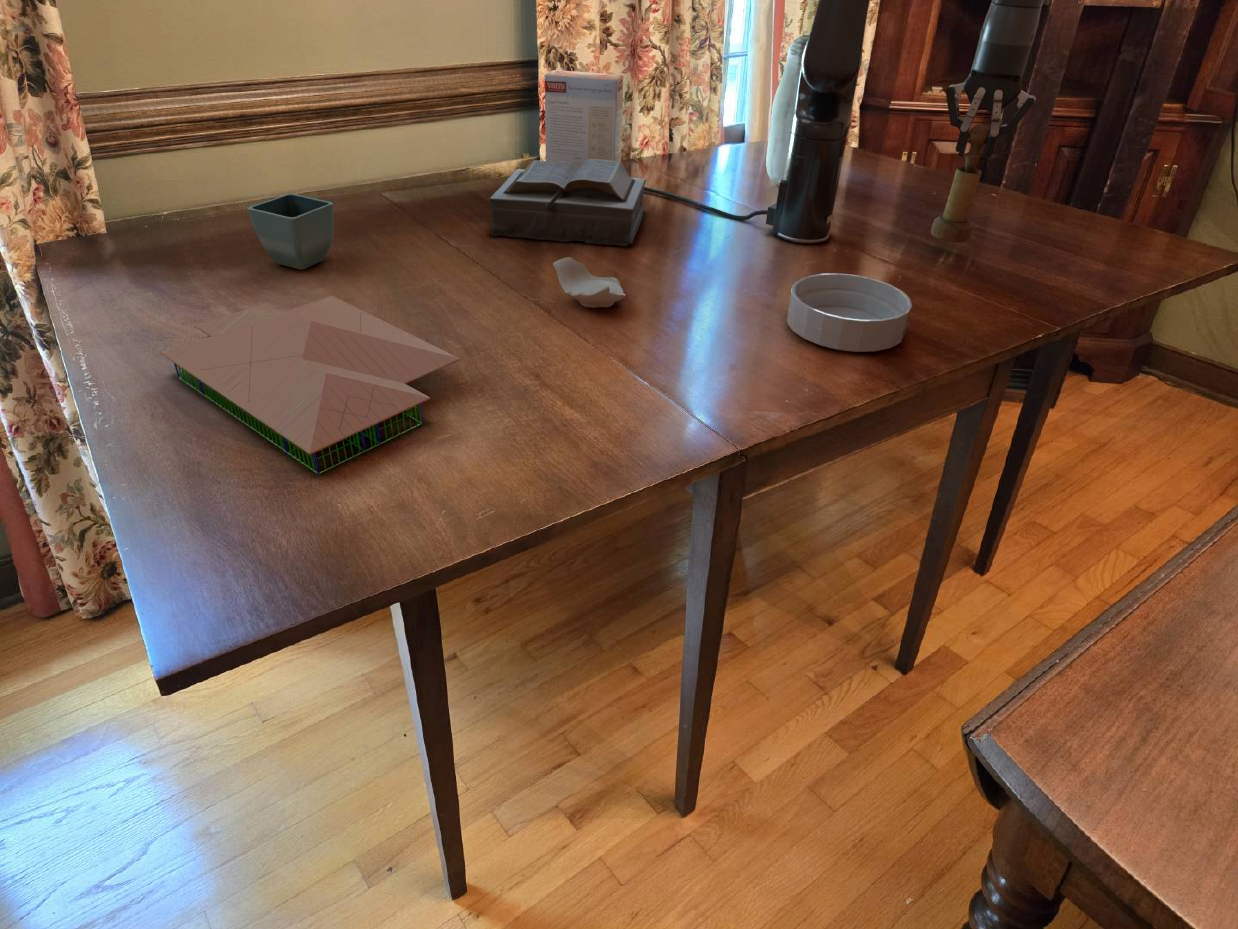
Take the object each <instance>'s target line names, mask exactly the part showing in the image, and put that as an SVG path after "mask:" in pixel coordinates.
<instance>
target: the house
mask: <svg viewBox="0 0 1238 929" xmlns="http://www.w3.org/2000/svg"><path fill="white" fill-rule="evenodd" d="M193 328H195V329H197V330H199V331H200V332H201V333H203V334H205V335H207V336H206V337H201V338H199V339H197V340H194V341H191V342H187V343H185V344H181V345H179V346H176V347H172V348H169V349H167V350H163V351H161V352H160V355H162V356H163V357H165V358H166V359H167V360H169V361H170V362H172V363H173V365H174V368H175V371H176V375H177V378H178V379H179V380H181V381H183V382H184V383H186V384H187V385H189V386H190V387H191V388H193V389H194V390H196V391H197V392H199V393H200V394H201V395H202V396H204V397H205V398H207V399H208V400H210V401H211V402H213V403H214V404H216V405H217V406H219V407H220V408H222V409H223V410H225V411H226V412H227V413H229V414H230V415H231V416H233V417H234V418H236V419H238V420H239V421H240V422H242V423H243V424H245V425H246V426H247V427H249V428H250V429H252V430H253V431H255V432H256V433H258V434H259V435H261V436H262V437H264V438H265V439H266V440H267V441H269V442H271V443H272V444H273V445H274V446H276V447H278V448H279V449H281V450H282V451H283V452H285V453H287V454H288V455H289V456H291V457H292V458H294V459H295V460H297V461H298V462H300V463H301V464H303V465H304V466H305V467H307V468H308V469H310V470H311V471H313V472H314V473H315V474H317V475H319V474H322V473H324V472H326V471H328V470H330V469H332V468H335V467H336V466H338V465H340V464H342V463H344V462H346V461H348V460H351V459H353V458H355V457H357V456H359V455H360V454H361V455H362V454H363V453H365V452H367V451H369V450H372V449H374V448H376V447H378V446H380V445H381V444H384V443H387V442H388V441H390V440H391V439H394V438H396V437H398V436H400V435H402V434H405V433H406V432H408V431H410V430H412V429H415V428H417V427H419V426H420V425H422V424H423V423H424V422H423V415H422V406H421V404H423V403H426V402H427V401H429V400H431V397H430V396H429V395H426V394H424V393H423V392H421V391H419V390H417V389H416V388H414V387H411V386H410V385H408V384H409V383H412V382H414V381H415V380H418V379H421V378H422V377H425V376H427V375H430V374H432V373H434V372H436V371H438V370H441V369H444V368H446V367H448V366H450V365H452V364H455V363H457V362H459V361H461V358H459V357H457V356H455V354H451V353H450V352H447V351H445V350H444V349H442V348H439V347H437V346H435V345H434V344H431V343H429V342H427V341H425V340H424V339H422V338H419V337H418V336H415V335H414V334H411V333H409V332H407V331H405V330H403V329H402V328H399V327H397V326H394V325H393V324H391V323H388V322H387V321H384V320H383V319H380V318H378V317H376V316H374V315H372V314H370V313H369V312H366V311H364V310H362V309H360V308H358V307H356V306H354V305H352V304H350V303H349V302H346V301H344V300H342V299H340V298H338V297H336V296H334V295H329V296H326V297H323V298H320V299H317V300H314V301H311V302H308V303H305V304H302V305H299V306H296V307H292V308H290V309H287V310H284V311H283V310H281V309H280V308H278V307H276V306H274V305H272V304H270V303H268V302H264V303H261V304H258V305H255V306H251V307H249V308H246V309H243V310H239V311H236V312H233V313H230V314H226V315H223V316H220V317H216V318H214V319H211V320H209V321H205V322H202V323H198V324H195V325H194V327H193ZM218 399H219V400H218ZM417 406H418V407H417ZM233 408H234V409H233ZM412 408H414V412H413V409H412ZM230 409H231V410H230ZM240 411H241V412H240ZM244 413H245V414H244ZM417 413H419V420H418V414H417ZM399 414H401V415H402V418H400V419H398V415H399ZM405 415H406V416H405ZM413 415H414V416H415V418H414V417H413ZM238 416H239V417H238ZM394 416H395V418H396V420H394V421H392V418H393V417H394ZM248 417H249V418H248ZM406 418H408V419H409V426H410V428H408V429H406V425H405V419H406ZM252 419H253V420H252ZM388 419H389V421H390V422H389V424H387V425H386V423H385V421H386V420H388ZM411 420H414V421H415V424H416V425H414V426H412V421H411ZM400 421H402V422H403V430H404V431H402V432H400V427H399V422H400ZM382 422H383V426H382V427H381V428H380V427H379V424H380V423H382ZM395 423H396V426H397V434H396V435H394V431H393V424H395ZM250 424H251V425H250ZM257 426H258V427H257ZM387 427H390V431H391V437H389V438H388V435H387ZM371 428H372V429H371ZM268 429H269V430H268ZM367 429H368V430H367ZM382 429H384V435H385V440H383V441H381V434H380V430H382ZM364 430H365V433H364ZM262 431H263V432H262ZM265 431H266V432H265ZM269 432H270V433H269ZM273 433H274V435H273ZM359 433H360V434H359ZM266 434H267V435H266ZM270 436H271V437H270ZM277 436H278V438H277ZM366 437H367V438H369V440H370V447H368V448H367V447H366V440H365V438H366ZM274 438H275V440H274ZM352 438H353V441H352ZM278 440H279V442H278ZM345 440H346V441H347V442H348V443H346V444H345V442H344V441H345ZM360 440H361V442H362V443H361V442H360ZM341 441H342V444H343V445H342V446H341V447H338V443H339V442H341ZM373 442H374V445H373ZM287 443H288V444H287ZM356 443H357V444H356ZM279 444H280V445H279ZM334 444H335V448H336V449H334V450H332V451H331V446H333V445H334ZM361 444H362V447H361ZM291 445H292V446H291ZM349 445H350V450H351V455H352V456H350V457H348V458H347V453H346V448H345V447H346V446H349ZM353 445H354V446H355V447H357V450H358V453H356V454H355V455H354V451H353ZM288 448H289V449H288ZM326 448H328V453H325V454H324V451H323V450H324V449H326ZM296 449H297V452H296ZM341 449H343V451H344V452H343V453H344V457H345V459H343V460H342V461H340V454H339V450H341ZM300 451H301V453H300ZM320 451H321V455H320V456H319V457H317V455H316V453H317V452H320ZM333 452H336V454H337V459H338V463H336V464H334V463H333V458H332V453H333ZM293 453H294V455H293ZM297 454H298V457H297ZM304 454H305V455H306V457H305V455H304ZM301 455H302V457H301ZM328 455H330V457H329V458H330V461H331V462H330V463H331V466H330V467H327V465H326V461H325V457H326V456H328ZM309 457H310V459H309ZM305 458H306V459H305ZM321 458H322V460H323V465H324V469H323V470H321V471H320V470H319V466H318V464H319V463H318V460H319V459H321ZM302 459H303V461H302ZM306 460H307V463H306ZM310 460H311V463H310ZM311 464H312V467H311Z"/></svg>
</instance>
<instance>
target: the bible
mask: <svg viewBox="0 0 1238 929" xmlns="http://www.w3.org/2000/svg"><path fill="white" fill-rule="evenodd" d="M646 182H647V180H646V178H639V177H631V176H630V175H629V174H628V171H627V170H626V168H625V167H624V164H623V162H622V161H621V162H620V161H609V160H600V159H588V160H585V161H583V162H582V163H581V164H580V165H579V166H575V165H574V164H573V163H571V162H567V161H546V160H539V159H538V160H537V159H534V160H532V161H531V162H530V163H529V164H527V166H526V167H525V169H521V168H516V169H515V170H514V171H513V172H512V173H511V175H509V177H508V178H507V179H506V180H505V181H504V182H503V184H501V186H499V188H498V189H497V190H495V192H494V193H493V194H492V195H491V196H490V197H489V202H490V209H491V214H492V220H493V222H492V226H491V236H492V237H498V236H501V237H509V238H520V239H530V240H533V239H534V240H538V241H543V240H544V241H545V240H546V241H552V242H558V243H559V242H565V243H566V242H573V241H577V242H584V243H585V244H592V245H593V244H594V245H603V246H604V245H605V246H607V245H608V246H614V245H616V246H619V247H628V245H631V244H633V242H634V240H635V238H636V237H635V236H636V234H637V233H638V230H639V229H640V225H641V222H642V220H643V215H644V214H643V213H644V202H643V200H644V193H645V191H644V187H645V185H646Z"/></svg>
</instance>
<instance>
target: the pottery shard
mask: <svg viewBox="0 0 1238 929" xmlns="http://www.w3.org/2000/svg"><path fill="white" fill-rule="evenodd" d="M552 266H553V267H554V269H555V271H556V274H557V277H558V281H559V285H560V286H561V288H562V290H563V291H564V293H566V295H568V296H569V297H570V298H571V299H574V300H576V301H578V303H579V304H580V305H581V306H582V307H585V308H593V309H595V308H610V307H612V306H613V305H614V304H615V302H618V301H621V300H622V299H624V298H626V297H627V295H626V293H624V290H623V288H622V285H621V284H620V281H619V280H618V279H617V278H616V277H613V276H607V277H606V276H605V277H602V276H596V275H593V274H591V273H590V271H589V270H588V269H587V267H586V265H584V264H583V263H580V262H579V261H577V260H575V259H574V258H573V257H570V256H568V257H563V258H561V259H558V260H555V261H554V262H553V263H552Z"/></svg>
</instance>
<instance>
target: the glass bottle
mask: <svg viewBox="0 0 1238 929" xmlns="http://www.w3.org/2000/svg"><path fill="white" fill-rule="evenodd" d="M808 37H809V34H804V35H803V34H802V35H801V36H798V37H797V38H796V39H794V41H792V43H791V44H790V46H789V49H788V51H787V57H786V62H785V65H784V69H783V72H782V76H781V79H780V82H779V84H778V86H777V89H776V92H775V95H774V98H773V102H772V108H771V116H770V123H769V132H768V133H769V134H768V139H767V148H766V157H765V166H766V171H767V175H768V177H769V179H770V181H771V182H772V183H773V184H775V185H777V186H779V183H780V180H781V179H782V178H784V174H785V168H786V161H787V154H788V148H789V141H790V134H791V127H792V120H793V114H794V108H795V103H796V98H797V91H798V85H799V78H800V71H801V58H802V53H803V50H804V48H805V45H806V43H807V40H808Z"/></svg>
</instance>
